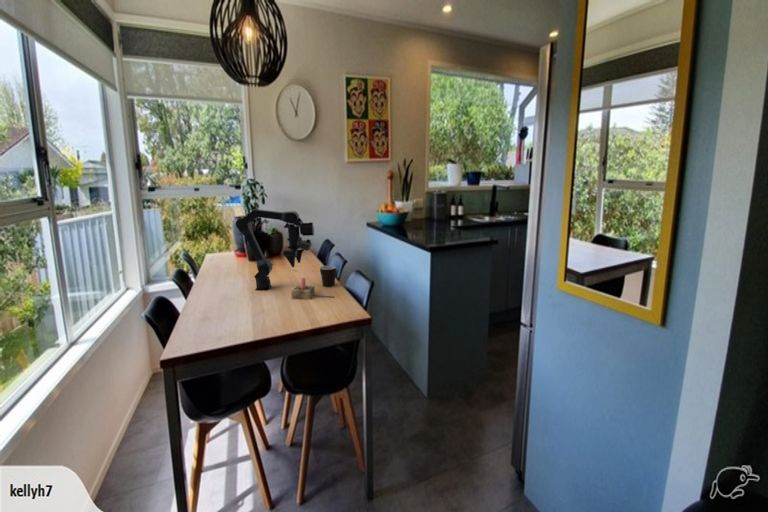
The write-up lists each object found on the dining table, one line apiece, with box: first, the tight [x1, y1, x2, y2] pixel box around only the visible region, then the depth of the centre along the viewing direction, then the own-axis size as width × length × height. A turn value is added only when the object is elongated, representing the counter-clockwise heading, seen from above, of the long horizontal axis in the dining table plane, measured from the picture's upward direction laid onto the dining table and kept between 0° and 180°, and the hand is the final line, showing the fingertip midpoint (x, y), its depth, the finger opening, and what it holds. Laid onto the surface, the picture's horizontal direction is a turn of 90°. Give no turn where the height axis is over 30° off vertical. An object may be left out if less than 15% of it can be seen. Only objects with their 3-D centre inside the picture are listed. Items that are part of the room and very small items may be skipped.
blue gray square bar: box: [312, 294, 336, 299], centre depth 183 cm, size 11×1×1 cm, turn 76°
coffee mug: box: [319, 265, 337, 288], centre depth 201 cm, size 12×9×10 cm
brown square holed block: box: [291, 284, 316, 300], centre depth 184 cm, size 9×9×4 cm
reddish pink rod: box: [299, 277, 307, 290], centre depth 184 cm, size 2×2×9 cm
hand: (296, 264), depth 195 cm, fingers open, 9 cm apart
